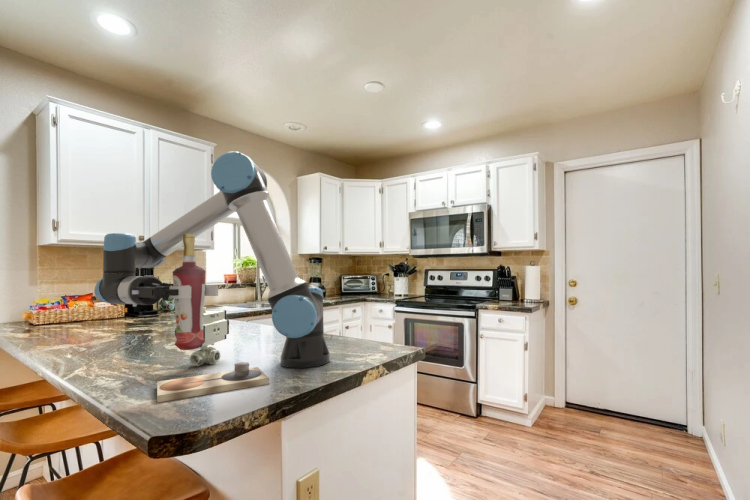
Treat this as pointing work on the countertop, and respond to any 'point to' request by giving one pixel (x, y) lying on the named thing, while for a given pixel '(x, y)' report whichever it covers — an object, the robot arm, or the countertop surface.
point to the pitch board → (211, 383)
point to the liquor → (189, 299)
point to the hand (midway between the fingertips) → (203, 291)
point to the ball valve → (211, 337)
